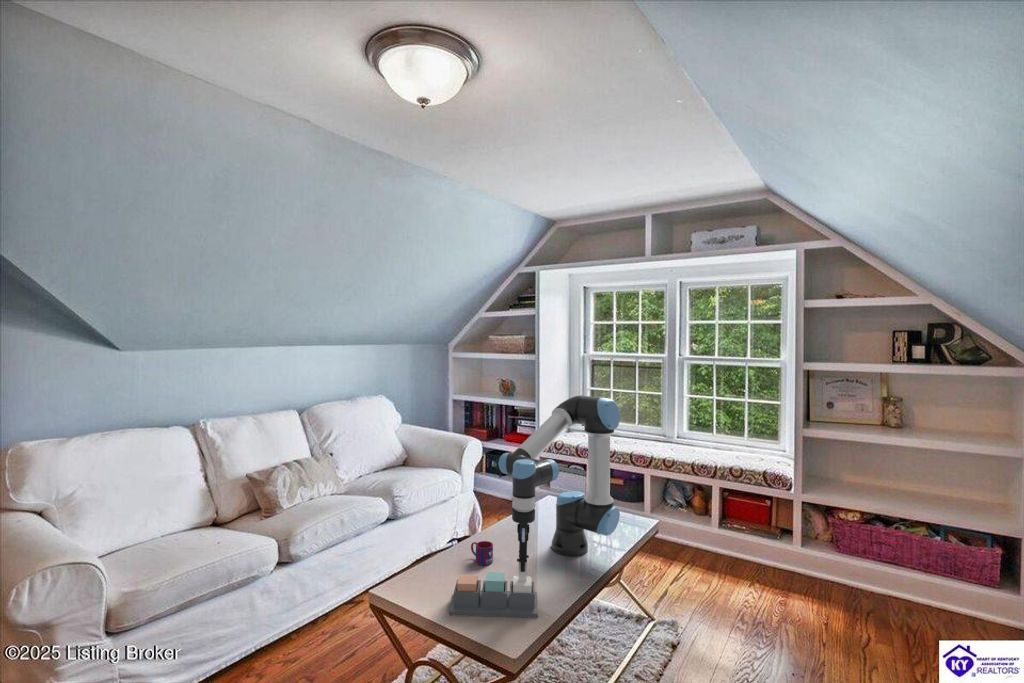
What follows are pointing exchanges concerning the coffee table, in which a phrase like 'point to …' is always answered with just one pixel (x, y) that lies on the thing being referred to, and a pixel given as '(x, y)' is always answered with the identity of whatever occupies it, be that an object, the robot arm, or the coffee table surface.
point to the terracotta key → (467, 583)
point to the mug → (483, 552)
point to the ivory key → (522, 585)
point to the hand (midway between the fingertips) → (522, 579)
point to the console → (494, 602)
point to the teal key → (494, 582)
